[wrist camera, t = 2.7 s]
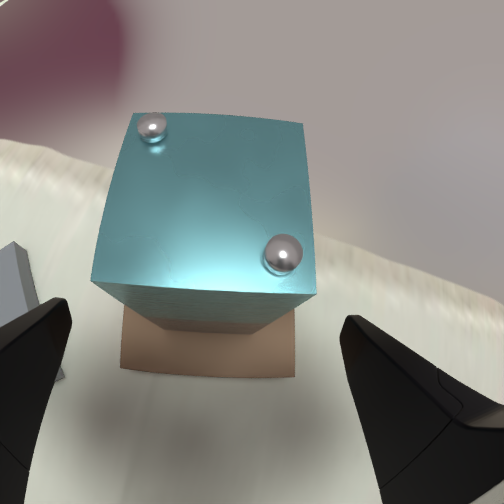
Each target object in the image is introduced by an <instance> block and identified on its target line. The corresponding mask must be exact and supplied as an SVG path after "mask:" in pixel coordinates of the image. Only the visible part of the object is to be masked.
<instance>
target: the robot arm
mask: <svg viewBox="0 0 504 504" xmlns="http://www.w3.org/2000/svg"><path fill="white" fill-rule="evenodd" d="M71 327H72V318H71V314H70V311H69V307H68V303H67V301H66V299H64V298H57V297H55V298H52V299H50V300H49V301H47V302H45V303H43V304H41V305H39V306H37V307H36V308H34V309H32V310H30V311H28V312H26V313H25V314H23V315H21V316H19V317H17V318H16V319H14V320H12V321H10V322H8V323H7V324H5V325H3V326H1V327H0V504H24V499H25V493H26V488H27V482H28V477H29V471H30V466H31V462H32V458H33V453H34V449H35V445H36V441H37V437H38V434H39V430H40V426H41V423H42V419H43V416H44V413H45V410H46V406H47V403H48V400H49V397H50V394H51V391H52V388H53V385H54V382H55V379H56V377H57V374H58V371H59V368H60V365H61V362H62V359H63V355H64V351H65V348H66V344H67V340H68V337H69V333H70V330H71ZM340 345H341V350H342V355H343V360H344V365H345V370H346V375H347V379H348V383H349V386H350V390H351V393H352V396H353V399H354V402H355V406H356V409H357V412H358V415H359V419H360V422H361V425H362V429H363V432H364V436H365V439H366V443H367V446H368V450H369V453H370V457H371V460H372V464H373V468H374V471H375V475H376V479H377V483H378V486H379V489H380V490H379V491H380V495H381V499H382V503H383V504H504V405H502V404H499V403H497V402H494V401H493V400H491V399H489V398H487V397H486V396H484V395H482V394H480V393H478V392H477V391H475V390H473V389H471V388H470V387H468V386H466V385H464V384H463V383H461V382H459V381H458V380H456V379H454V378H453V377H451V376H450V375H448V374H447V373H445V372H444V371H442V370H441V369H439V368H437V367H436V366H435V365H433V364H432V363H430V362H429V361H427V360H426V359H424V358H423V357H421V356H420V355H418V354H417V353H415V352H414V351H412V350H411V349H410V348H408V347H407V346H405V345H404V344H402V343H401V342H399V341H398V340H396V339H395V338H393V337H392V336H390V335H389V334H387V333H386V332H384V331H383V330H381V329H380V328H378V327H377V326H375V325H374V324H372V323H371V322H369V321H368V320H366V319H365V318H363V317H362V316H360V315H348V316H347V317H346V319H345V322H344V325H343V328H342V330H341V333H340Z"/></svg>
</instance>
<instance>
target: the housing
mask: <svg viewBox="0 0 504 504" xmlns="http://www.w3.org/2000/svg"><path fill="white" fill-rule="evenodd" d="M90 281H91V282H93V283H94V284H96V285H97V286H98V287H100V288H101V289H103V290H104V291H105V292H107V293H108V294H110V295H111V296H113V297H114V298H116V299H117V300H118V301H120V302H121V303H123V304H124V305H126V306H127V307H129V308H130V309H132V310H133V311H135V312H137V313H138V314H140V315H141V316H143V317H144V318H146V319H147V320H149V321H151V322H152V323H154V324H155V325H157V326H159V327H160V328H162V329H164V330H173V331H187V332H203V333H223V334H251V335H252V334H254V333H255V332H257V331H259V330H260V329H262V328H264V327H265V326H267V325H269V324H270V323H272V322H273V321H275V320H277V319H278V318H280V317H282V316H283V315H285V314H286V313H288V312H289V311H291V310H293V309H294V308H296V307H297V306H299V305H300V304H302V303H304V302H305V301H307V300H308V299H310V298H311V297H313V296H314V295H316V272H315V253H314V237H313V224H312V211H311V198H310V187H309V176H308V166H307V157H306V148H305V139H304V131H303V124H302V123H296V122H289V121H281V120H273V119H264V118H255V117H244V116H233V115H218V114H199V113H157V112H153V113H133V115H132V118H131V121H130V124H129V126H128V129H127V132H126V135H125V138H124V141H123V144H122V148H121V150H120V153H119V157H118V160H117V163H116V167H115V170H114V173H113V177H112V181H111V184H110V188H109V192H108V196H107V199H106V204H105V208H104V212H103V216H102V221H101V225H100V230H99V235H98V239H97V245H96V250H95V255H94V261H93V267H92V273H91V280H90Z"/></svg>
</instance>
